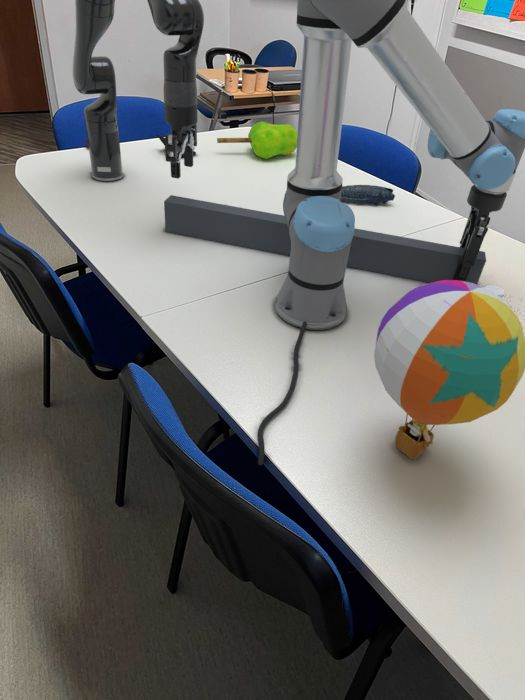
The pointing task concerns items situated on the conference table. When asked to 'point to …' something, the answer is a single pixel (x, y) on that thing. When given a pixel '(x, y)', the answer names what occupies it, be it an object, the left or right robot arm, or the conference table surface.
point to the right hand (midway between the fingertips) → (456, 281)
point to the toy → (448, 357)
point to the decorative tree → (268, 139)
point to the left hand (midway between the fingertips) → (182, 171)
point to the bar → (274, 236)
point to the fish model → (366, 194)
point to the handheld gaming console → (164, 144)
